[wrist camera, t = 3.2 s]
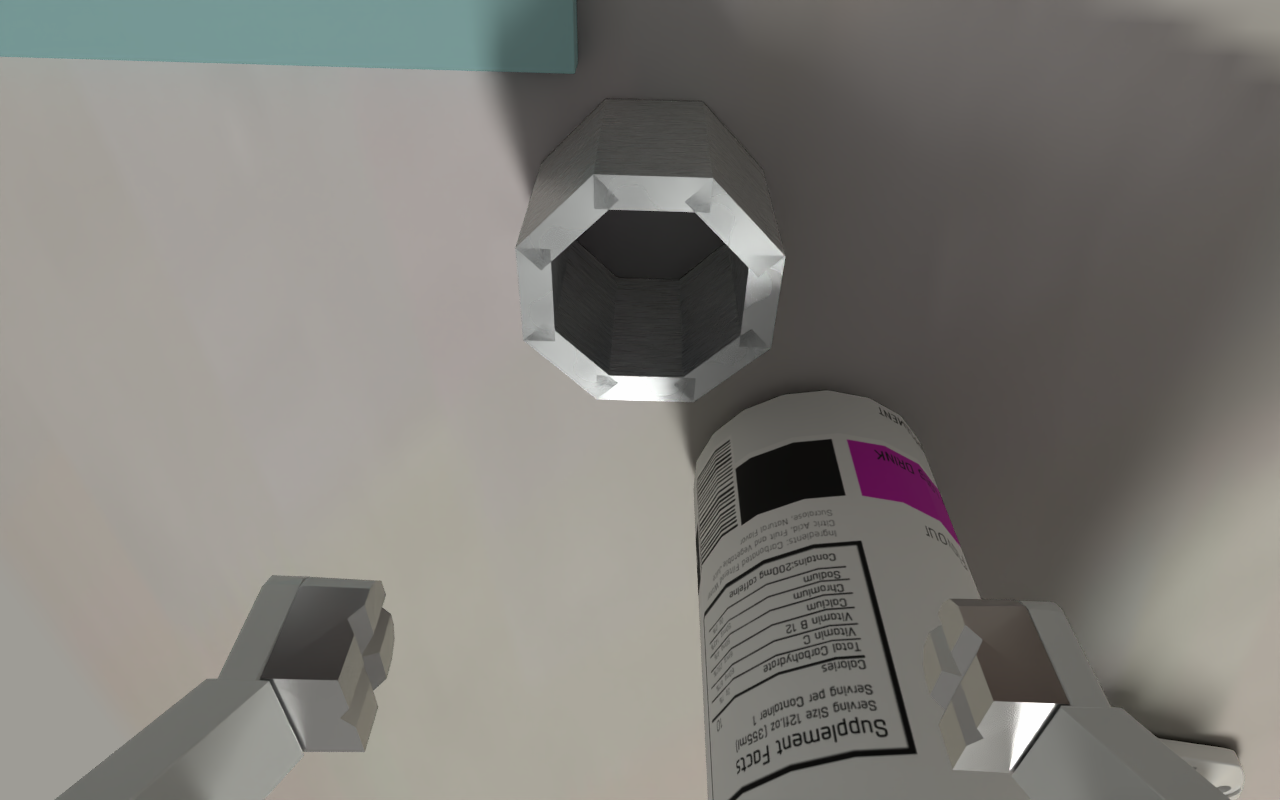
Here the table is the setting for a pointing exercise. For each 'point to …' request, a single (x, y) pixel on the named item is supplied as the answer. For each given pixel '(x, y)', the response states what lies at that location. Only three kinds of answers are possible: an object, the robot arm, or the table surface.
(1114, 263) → the table surface
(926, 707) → the supplement can
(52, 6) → the duct flange
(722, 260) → the collar
